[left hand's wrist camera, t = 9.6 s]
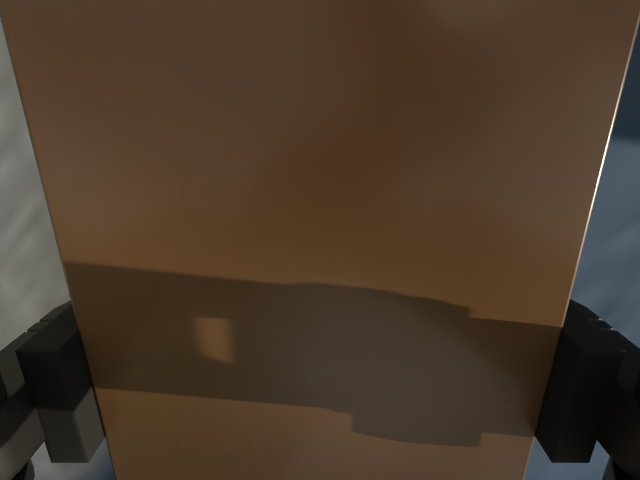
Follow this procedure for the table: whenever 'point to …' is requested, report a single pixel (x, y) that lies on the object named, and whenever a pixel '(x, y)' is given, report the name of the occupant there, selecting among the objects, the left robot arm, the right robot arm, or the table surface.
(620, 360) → the left robot arm
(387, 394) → the wide beam
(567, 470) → the table surface
